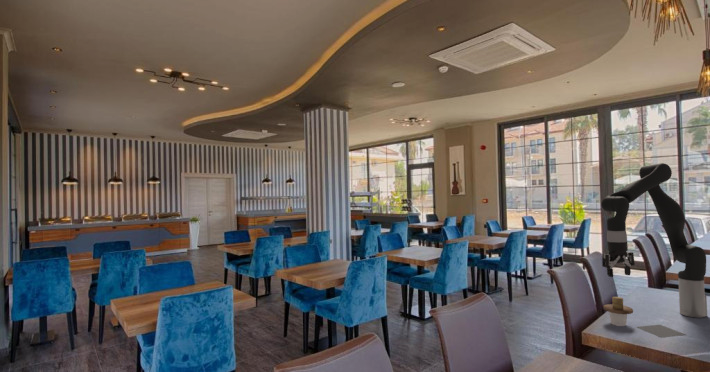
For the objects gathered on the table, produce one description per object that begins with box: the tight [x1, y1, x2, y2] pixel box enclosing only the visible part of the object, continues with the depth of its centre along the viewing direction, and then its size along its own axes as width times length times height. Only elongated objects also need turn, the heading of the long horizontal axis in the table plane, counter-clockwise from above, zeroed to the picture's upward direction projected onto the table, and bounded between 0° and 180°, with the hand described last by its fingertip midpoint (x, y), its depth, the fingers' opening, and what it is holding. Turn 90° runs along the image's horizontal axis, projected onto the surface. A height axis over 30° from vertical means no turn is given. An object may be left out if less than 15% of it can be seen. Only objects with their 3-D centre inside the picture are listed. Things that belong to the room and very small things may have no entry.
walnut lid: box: [603, 296, 634, 315], centre depth 172 cm, size 11×11×6 cm
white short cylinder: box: [608, 312, 628, 327], centre depth 172 cm, size 7×7×7 cm
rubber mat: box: [636, 324, 687, 339], centre depth 162 cm, size 12×12×1 cm
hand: (619, 275), depth 172 cm, fingers open, 8 cm apart
